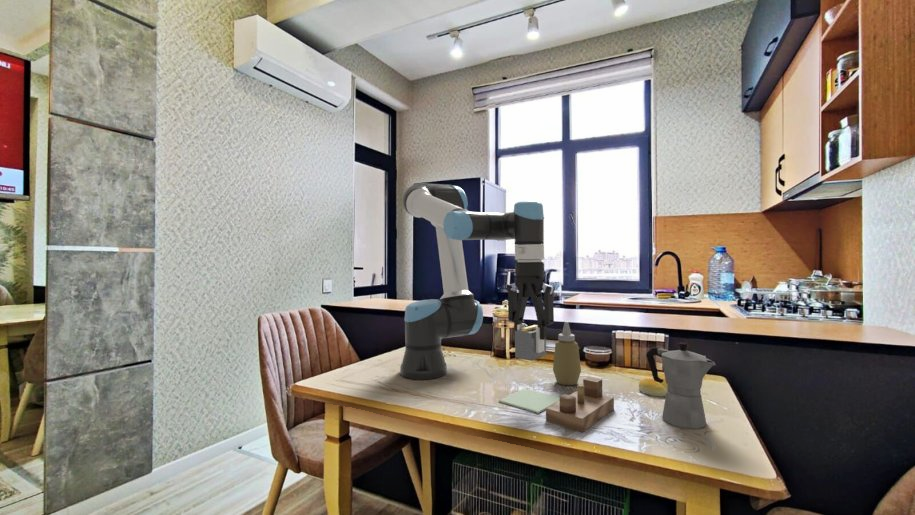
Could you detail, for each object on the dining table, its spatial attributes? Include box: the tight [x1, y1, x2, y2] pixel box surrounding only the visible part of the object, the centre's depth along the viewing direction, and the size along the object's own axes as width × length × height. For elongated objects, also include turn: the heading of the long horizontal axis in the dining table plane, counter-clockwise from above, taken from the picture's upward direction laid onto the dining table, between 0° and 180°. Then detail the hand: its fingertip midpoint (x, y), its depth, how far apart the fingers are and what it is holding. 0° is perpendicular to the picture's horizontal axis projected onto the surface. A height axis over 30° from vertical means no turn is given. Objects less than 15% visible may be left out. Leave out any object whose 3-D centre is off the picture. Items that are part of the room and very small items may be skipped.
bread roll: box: [638, 376, 667, 397], centre depth 113 cm, size 8×9×4 cm
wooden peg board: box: [545, 376, 615, 433], centre depth 97 cm, size 17×9×7 cm, turn 137°
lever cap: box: [514, 324, 547, 362], centre depth 107 cm, size 5×7×8 cm
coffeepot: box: [646, 341, 716, 430], centre depth 94 cm, size 15×9×18 cm, turn 35°
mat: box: [498, 387, 560, 414], centre depth 107 cm, size 12×12×1 cm
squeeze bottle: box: [552, 321, 582, 386], centre depth 121 cm, size 8×8×18 cm
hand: (530, 349), depth 107 cm, fingers closed on lever cap, 5 cm apart
